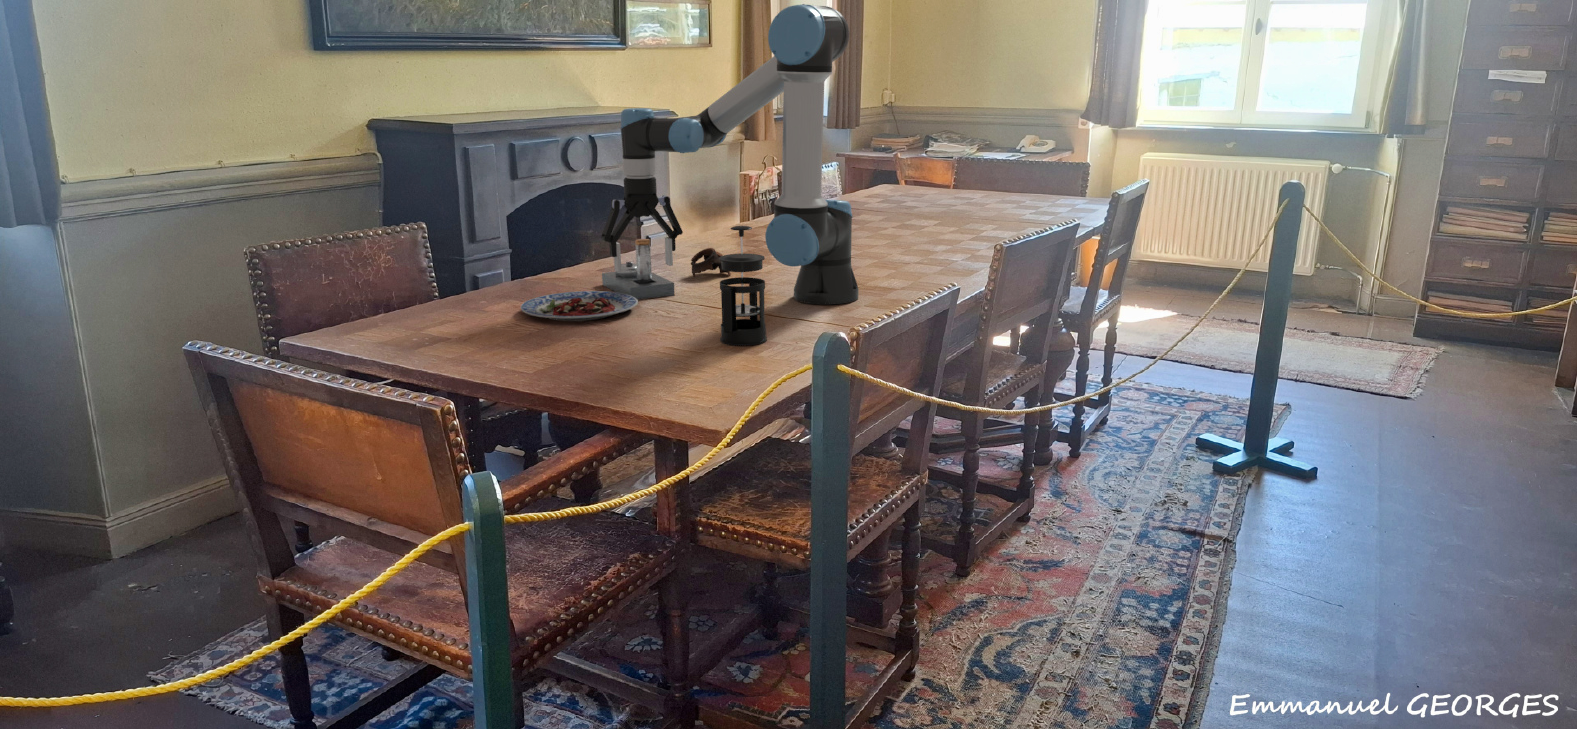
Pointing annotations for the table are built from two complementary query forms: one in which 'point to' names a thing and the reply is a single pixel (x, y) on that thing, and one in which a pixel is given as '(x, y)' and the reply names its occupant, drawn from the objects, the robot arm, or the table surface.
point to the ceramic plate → (579, 305)
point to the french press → (742, 329)
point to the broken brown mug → (707, 261)
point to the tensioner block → (628, 283)
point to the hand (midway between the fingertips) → (643, 267)
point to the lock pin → (643, 261)
